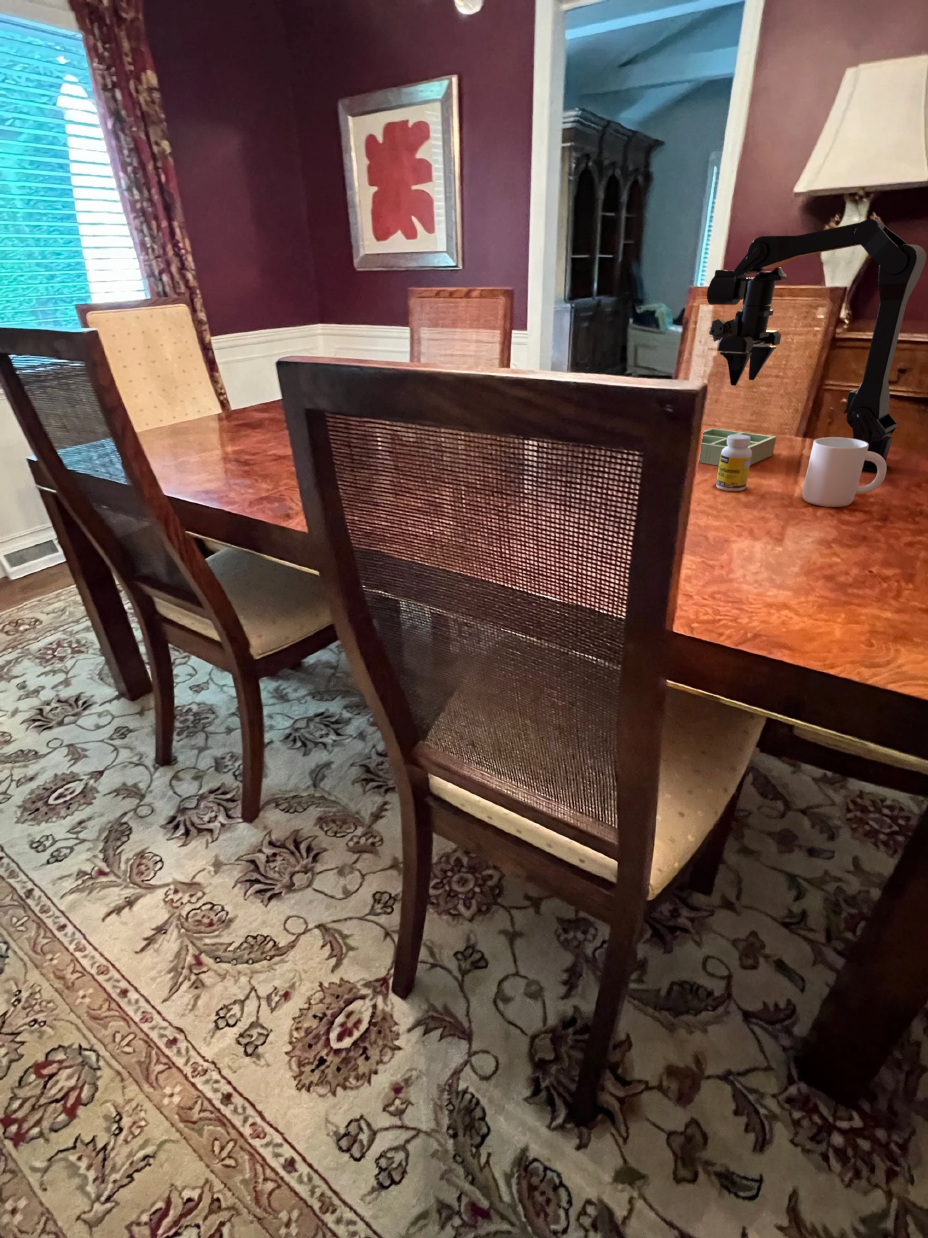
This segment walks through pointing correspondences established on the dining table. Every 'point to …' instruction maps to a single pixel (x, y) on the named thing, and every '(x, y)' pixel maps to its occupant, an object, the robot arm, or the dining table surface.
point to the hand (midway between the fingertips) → (742, 382)
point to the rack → (717, 442)
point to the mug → (839, 471)
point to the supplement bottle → (734, 463)
